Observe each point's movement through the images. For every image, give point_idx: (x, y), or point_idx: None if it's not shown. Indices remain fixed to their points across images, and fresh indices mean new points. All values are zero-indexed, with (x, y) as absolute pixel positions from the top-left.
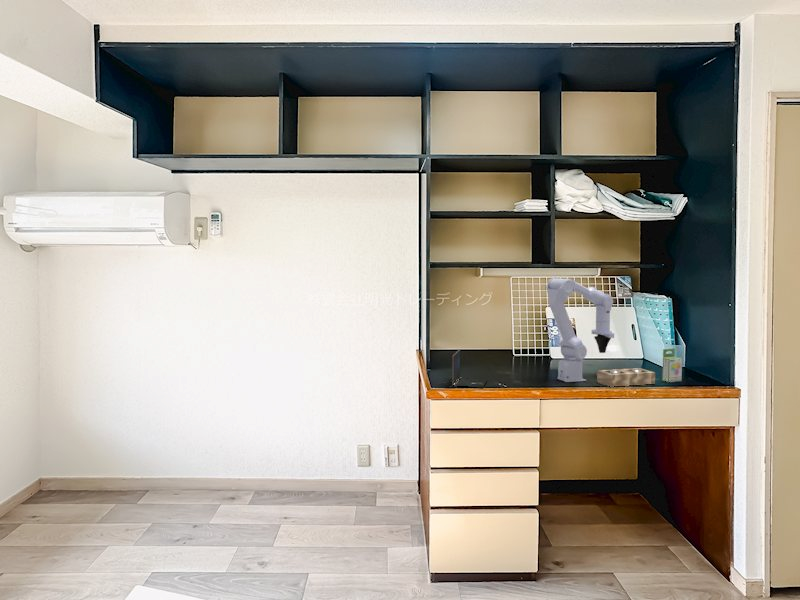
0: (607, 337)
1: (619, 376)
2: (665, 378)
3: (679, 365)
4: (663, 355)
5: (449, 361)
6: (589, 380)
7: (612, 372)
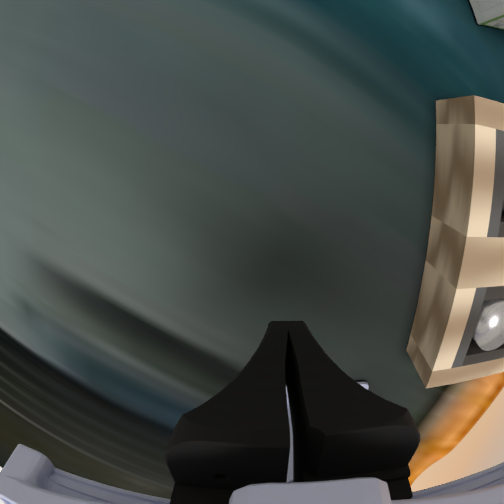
0: (404, 473)
1: None
2: (501, 24)
3: None
4: None
5: None
6: (354, 361)
7: (498, 345)
